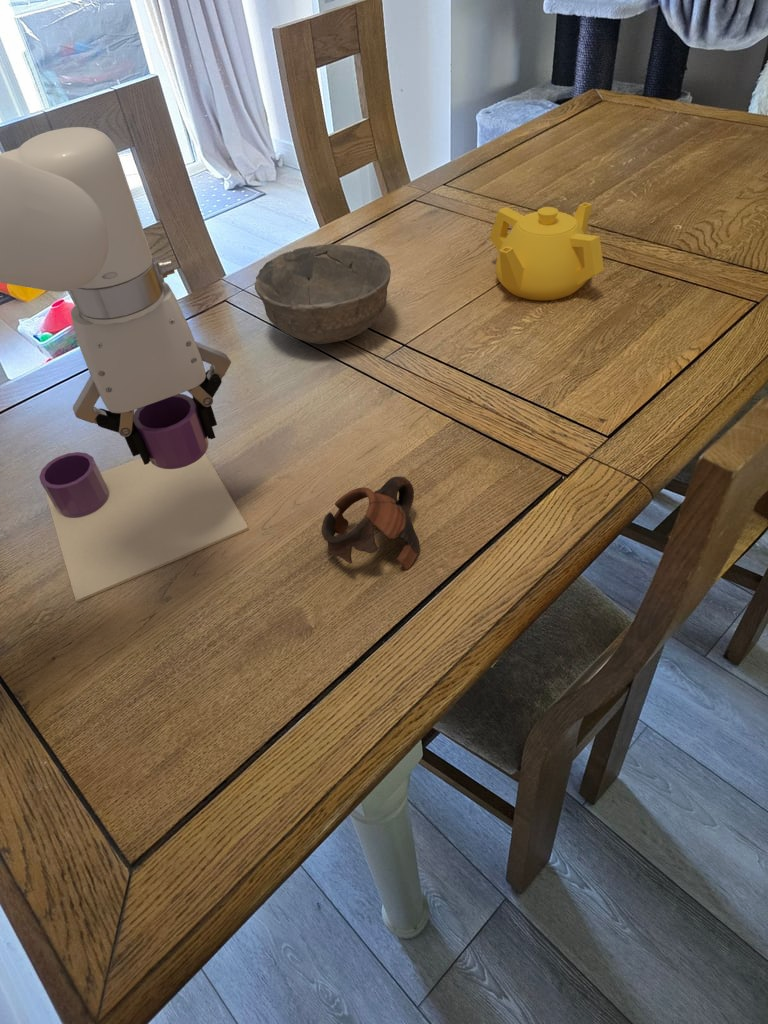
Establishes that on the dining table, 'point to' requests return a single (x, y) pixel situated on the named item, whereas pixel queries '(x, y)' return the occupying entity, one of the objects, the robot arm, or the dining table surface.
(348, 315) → the bowl
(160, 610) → the dining table surface
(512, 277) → the teapot
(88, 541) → the placemat
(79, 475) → the purple cup
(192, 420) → the purple hollow cylinder
